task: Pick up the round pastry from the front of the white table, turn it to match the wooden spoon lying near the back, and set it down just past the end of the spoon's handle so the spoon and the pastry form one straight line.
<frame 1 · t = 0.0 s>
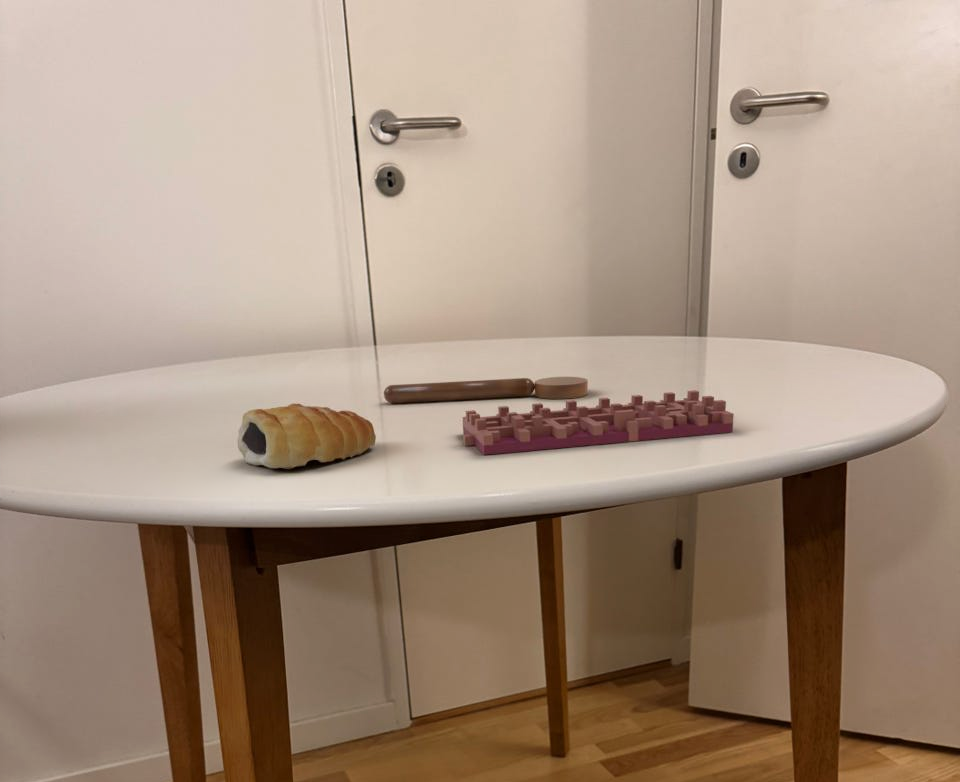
pink studded slab: (590, 436, 69), on the table
pastry: (304, 461, 65), on the table
wooden spoon: (503, 397, 84), on the table
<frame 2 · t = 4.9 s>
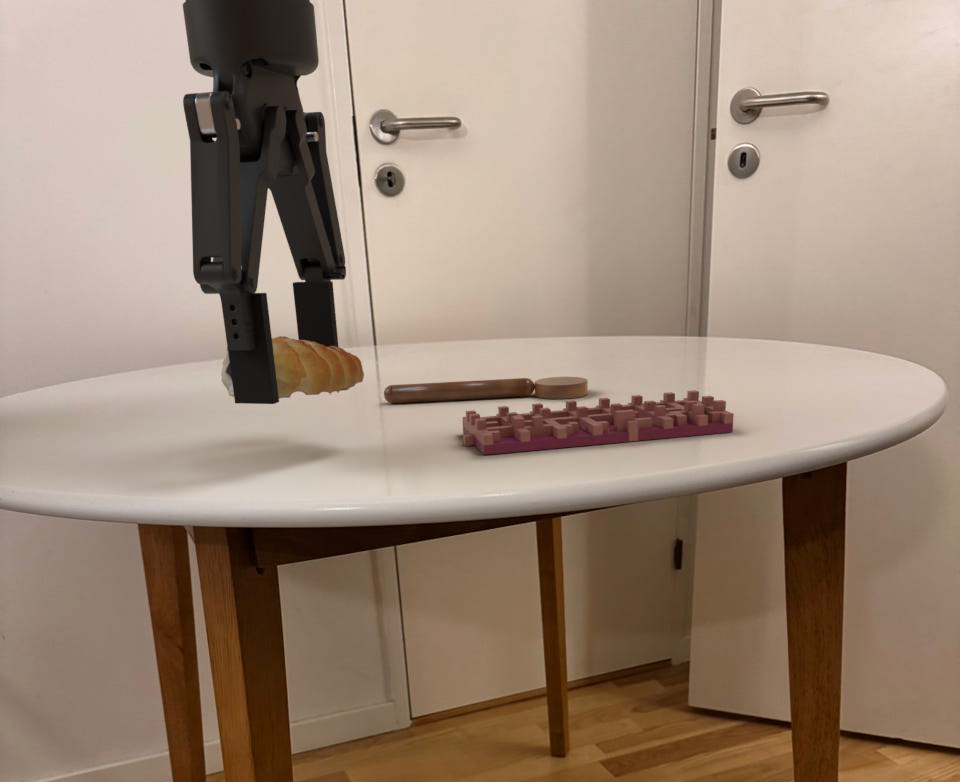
hand: (291, 389, 63), 5 cm above the table, tool pointing down, fingers closed on pastry, 9 cm apart
pastry: (290, 396, 64), point 4 cm above the table, touching gripper
everything else where it was.
when the fingers open (0 cm above the table, at t = 10.6 s): pastry stays where it is, on the table.
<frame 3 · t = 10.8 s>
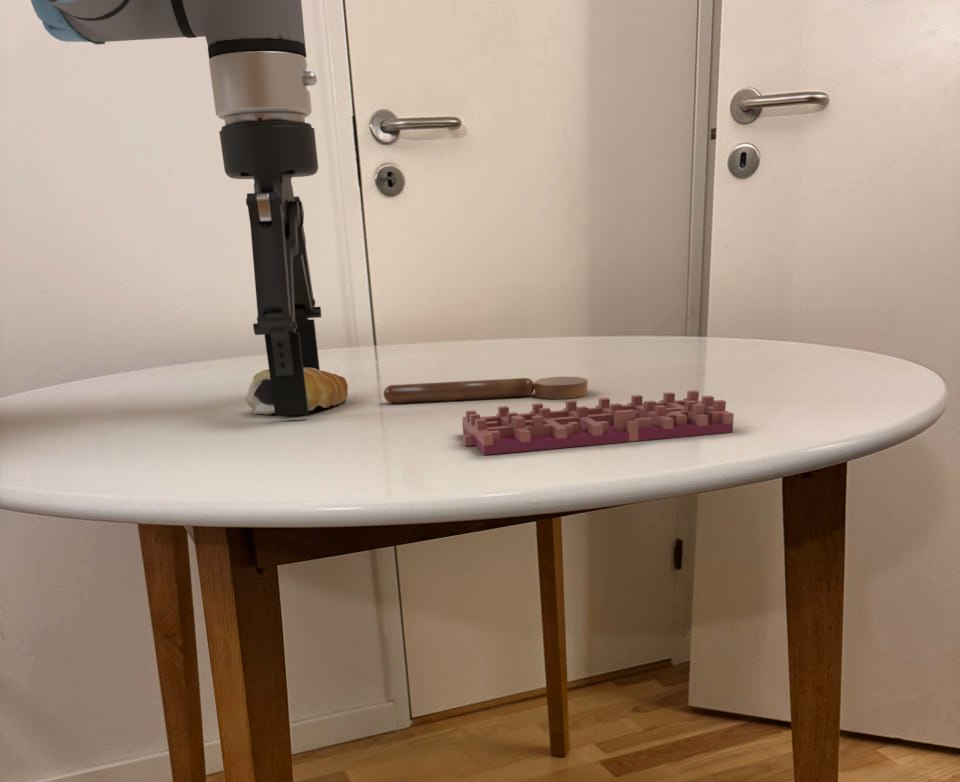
hand: (300, 402, 84), 0 cm above the table, tool pointing down, fingers open, 11 cm apart
pastry: (299, 410, 84), on the table
everything else where it was.
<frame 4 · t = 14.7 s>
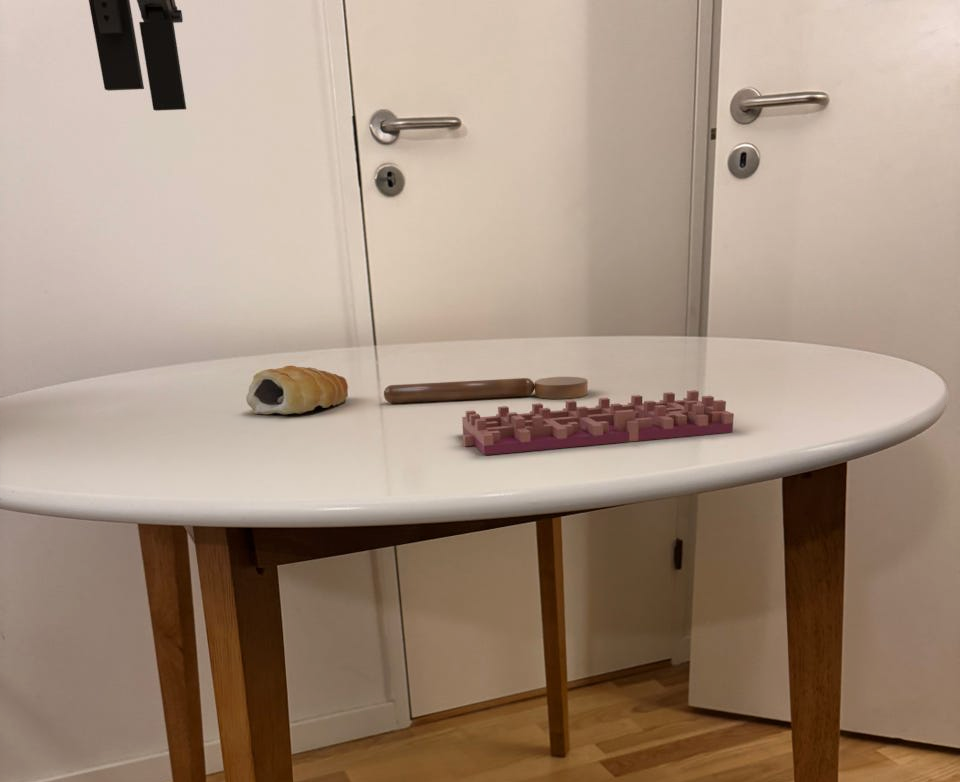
hand: (149, 100, 76), 25 cm above the table, tool pointing down, fingers open, 13 cm apart
nothing on the table moved.
at the end: pastry 0.3 cm from the target spot on the table beside the wooden spoon, on the table; the gripper is holding nothing; wooden spoon moved 0.0 cm from its start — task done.
